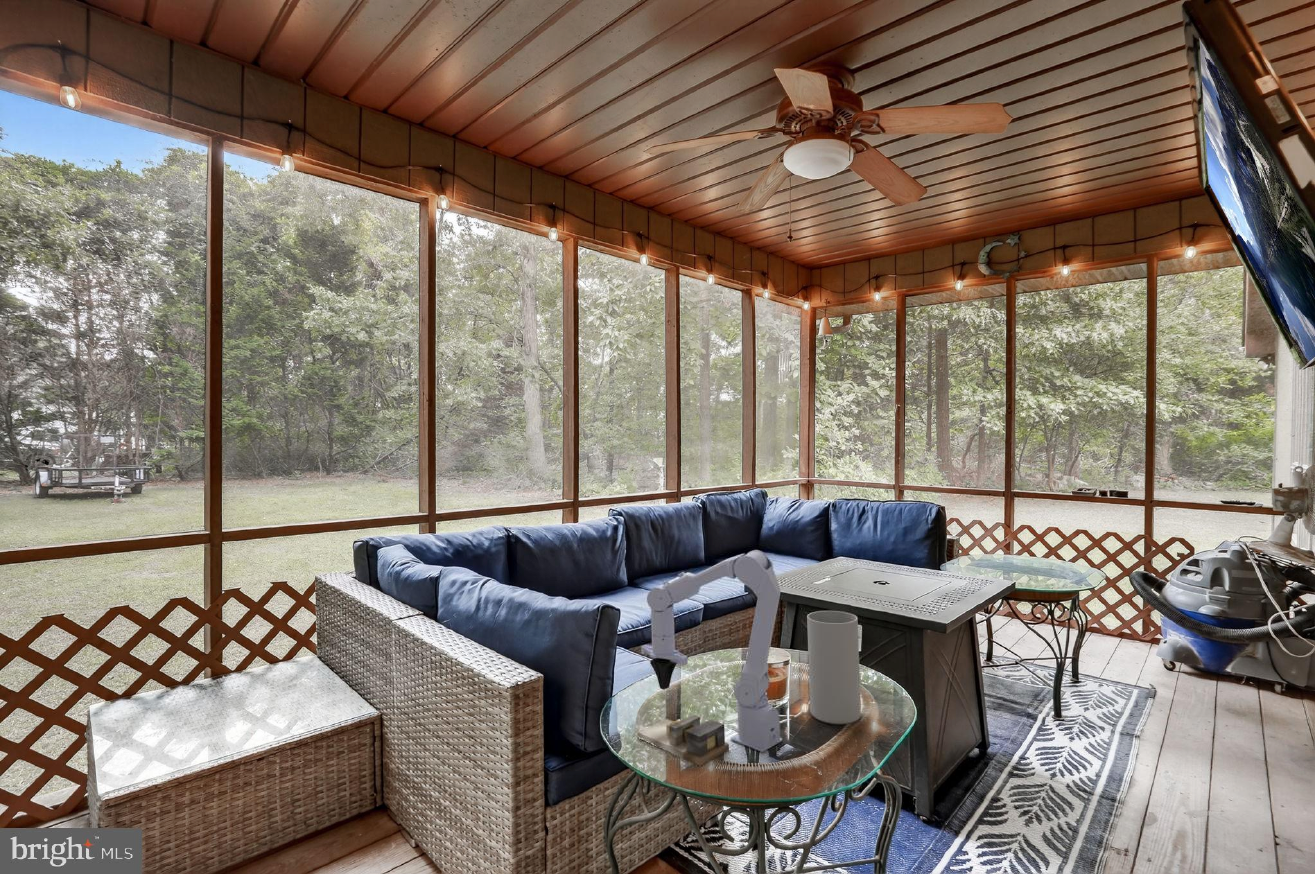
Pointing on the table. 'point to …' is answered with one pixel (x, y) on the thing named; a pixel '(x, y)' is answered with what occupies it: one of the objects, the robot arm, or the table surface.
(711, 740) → the yellow sliding bolt
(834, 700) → the cylinder vase
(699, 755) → the latch board
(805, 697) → the table surface
